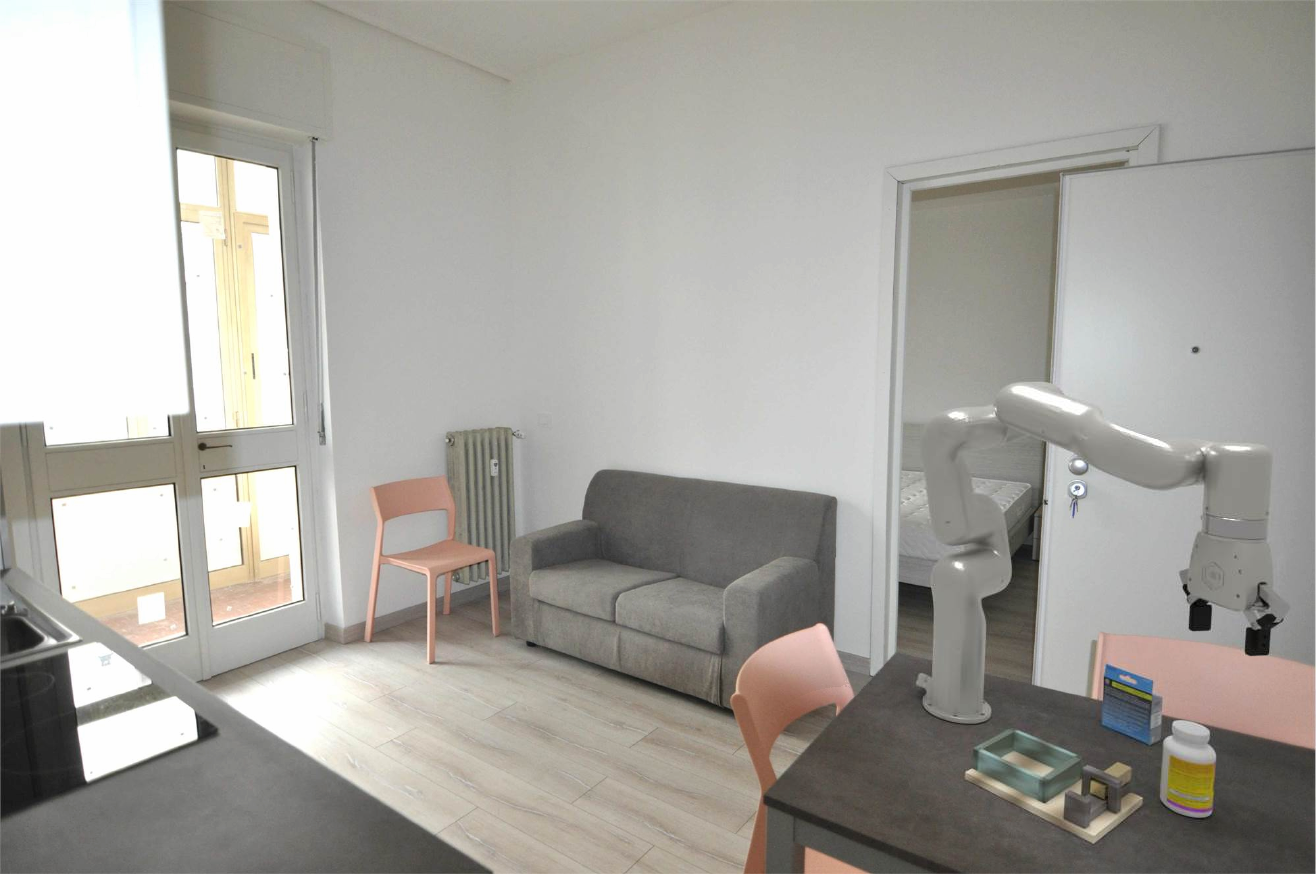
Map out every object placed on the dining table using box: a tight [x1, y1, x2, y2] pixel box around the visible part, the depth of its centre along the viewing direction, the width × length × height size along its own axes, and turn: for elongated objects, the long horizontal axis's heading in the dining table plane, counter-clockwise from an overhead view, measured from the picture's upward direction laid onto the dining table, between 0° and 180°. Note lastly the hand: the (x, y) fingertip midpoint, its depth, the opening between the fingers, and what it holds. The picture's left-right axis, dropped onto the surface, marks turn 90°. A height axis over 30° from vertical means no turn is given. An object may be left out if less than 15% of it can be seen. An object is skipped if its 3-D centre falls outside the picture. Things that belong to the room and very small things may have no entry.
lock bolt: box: [1090, 761, 1132, 799], centre depth 113 cm, size 2×9×2 cm, turn 125°
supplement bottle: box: [1159, 719, 1217, 819], centre depth 112 cm, size 7×7×13 cm
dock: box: [964, 727, 1144, 845], centre depth 116 cm, size 20×16×6 cm
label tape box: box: [1101, 662, 1163, 746], centre depth 134 cm, size 9×4×12 cm, turn 28°
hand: (1226, 642), depth 107 cm, fingers open, 9 cm apart
